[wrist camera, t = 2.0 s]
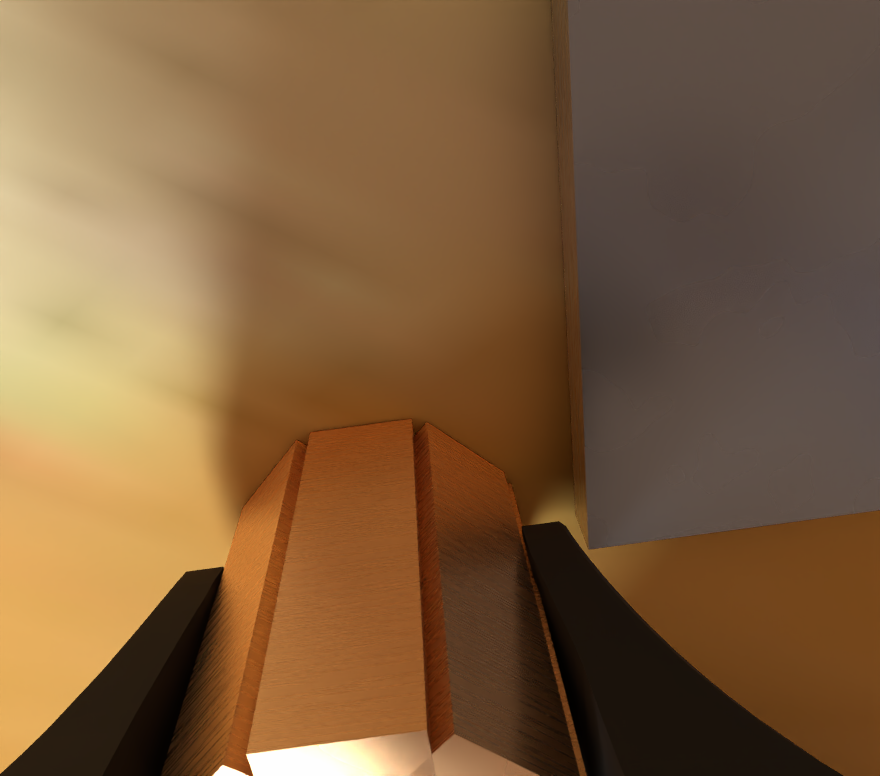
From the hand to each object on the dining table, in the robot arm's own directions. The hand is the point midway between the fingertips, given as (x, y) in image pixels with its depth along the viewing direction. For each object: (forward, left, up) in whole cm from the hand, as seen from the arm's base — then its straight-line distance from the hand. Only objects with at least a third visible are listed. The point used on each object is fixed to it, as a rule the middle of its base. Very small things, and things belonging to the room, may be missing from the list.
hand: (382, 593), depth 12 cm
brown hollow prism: (0, 0, -1) cm, 1 cm away
